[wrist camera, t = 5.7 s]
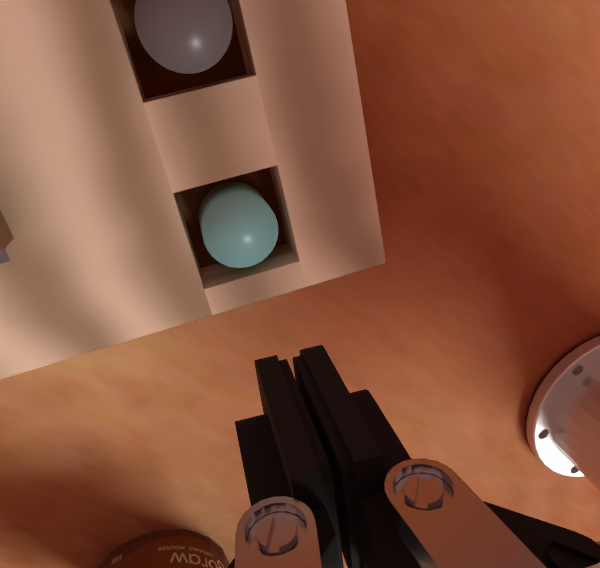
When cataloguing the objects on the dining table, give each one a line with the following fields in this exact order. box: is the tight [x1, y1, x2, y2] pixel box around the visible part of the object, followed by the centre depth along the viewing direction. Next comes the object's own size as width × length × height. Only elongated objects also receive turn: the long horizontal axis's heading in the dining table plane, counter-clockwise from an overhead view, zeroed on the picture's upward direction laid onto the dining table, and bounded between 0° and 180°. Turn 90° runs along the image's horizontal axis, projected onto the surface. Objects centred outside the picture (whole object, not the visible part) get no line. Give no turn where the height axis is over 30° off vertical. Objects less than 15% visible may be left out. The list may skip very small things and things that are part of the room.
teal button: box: [199, 181, 278, 268], centre depth 26 cm, size 4×4×3 cm
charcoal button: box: [134, 0, 233, 74], centre depth 21 cm, size 4×4×3 cm
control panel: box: [0, 0, 386, 379], centre depth 22 cm, size 24×26×3 cm
